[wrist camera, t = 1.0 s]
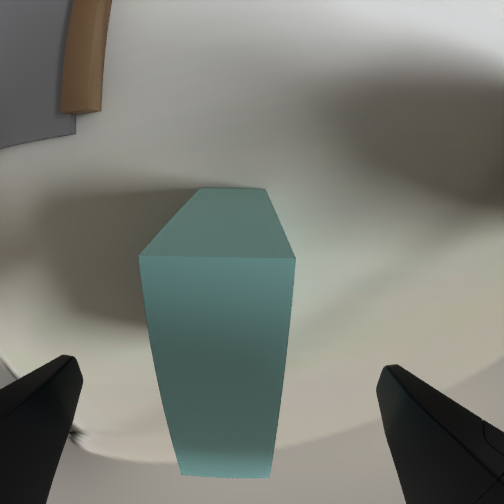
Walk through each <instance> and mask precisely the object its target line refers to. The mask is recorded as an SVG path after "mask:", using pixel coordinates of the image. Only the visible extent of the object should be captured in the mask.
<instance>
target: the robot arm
mask: <svg viewBox="0 0 504 504" xmlns="http://www.w3.org/2000/svg"><path fill="white" fill-rule="evenodd" d="M82 385H83V376H82V374H81V371H80V368H79V365H78V362H77V360H76V358H75V357H73V356H69V355H61V356H59V357H58V358H56V359H54V360H52V361H50V362H49V363H47V364H45V365H43V366H41V367H40V368H38V369H36V370H34V371H32V372H31V373H29V374H27V375H25V376H23V377H21V378H20V379H18V380H16V381H14V382H12V383H11V384H9V385H7V386H5V387H4V388H2V389H0V504H46V502H47V498H48V495H49V491H50V488H51V485H52V481H53V478H54V475H55V472H56V469H57V466H58V463H59V460H60V457H61V454H62V451H63V448H64V445H65V442H66V440H67V437H68V434H69V431H70V428H71V425H72V422H73V419H74V415H75V411H76V407H77V403H78V400H79V396H80V392H81V389H82ZM376 393H377V398H378V402H379V407H380V412H381V416H382V421H383V426H384V430H385V435H386V438H387V442H388V445H389V448H390V451H391V454H392V457H393V461H394V464H395V467H396V470H397V474H398V477H399V480H400V484H401V487H402V490H403V494H404V497H405V501H406V504H504V432H503V431H501V430H499V429H498V428H496V427H494V426H493V425H491V424H489V423H488V422H486V421H485V420H483V421H482V419H481V418H480V417H478V416H477V415H475V414H474V413H472V412H470V411H469V410H467V409H466V408H464V407H463V406H461V405H459V404H458V403H456V402H455V401H453V400H452V399H450V398H449V397H447V396H446V395H444V394H442V393H441V392H439V391H438V390H436V389H435V388H433V387H432V386H430V385H429V384H427V383H425V382H424V381H422V380H421V379H419V378H418V377H416V376H415V375H413V374H412V373H410V372H409V371H407V370H405V369H404V368H402V367H401V366H399V365H397V364H394V365H386V366H385V367H384V368H383V370H382V372H381V375H380V378H379V381H378V384H377V388H376Z"/></svg>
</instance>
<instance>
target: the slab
mask: <svg viewBox="0 0 504 504" xmlns="http://www.w3.org/2000/svg"><path fill="white" fill-rule="evenodd" d="M138 257H139V266H140V275H141V284H142V292H143V299H144V306H145V313H146V320H147V326H148V333H149V339H150V344H151V350H152V355H153V361H154V366H155V371H156V376H157V381H158V386H159V390H160V395H161V399H162V404H163V408H164V412H165V416H166V420H167V424H168V428H169V432H170V436H171V440H172V443H173V447H174V451H175V454H176V458H177V461H178V464H179V468H180V471H181V474H182V475H190V476H201V477H219V478H269V477H270V472H271V466H272V460H273V453H274V447H275V440H276V433H277V426H278V419H279V411H280V404H281V396H282V388H283V380H284V372H285V363H286V355H287V346H288V336H289V327H290V317H291V307H292V296H293V285H294V274H295V262H296V258H295V256H294V253H293V251H292V249H291V246H290V244H289V242H288V239H287V237H286V235H285V232H284V230H283V228H282V225H281V223H280V221H279V219H278V216H277V214H276V212H275V209H274V207H273V205H272V203H271V200H270V198H269V196H268V194H267V191H266V189H248V188H200V189H199V190H198V191H197V192H196V193H195V194H194V195H193V196H192V197H191V198H190V199H189V200H188V201H187V202H186V203H185V205H184V206H183V207H182V208H181V209H180V210H179V211H178V212H177V213H176V214H175V215H174V216H173V217H172V218H171V220H170V221H169V222H168V223H167V224H166V225H165V226H164V227H163V228H162V229H161V231H160V232H159V233H158V234H157V235H156V236H155V237H154V238H153V239H152V241H151V242H150V243H149V244H148V245H147V246H146V247H145V249H144V250H143V251H142V252H141V253H140V254H139V255H138Z"/></svg>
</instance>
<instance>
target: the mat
mask: <svg viewBox="0 0 504 504" xmlns="http://www.w3.org/2000/svg"><path fill="white" fill-rule="evenodd" d="M73 3H74V0H0V149H1V148H5V147H9V146H14V145H18V144H23V143H27V142H32V141H37V140H43V139H48V138H54V137H60V136H66V135H72V134H76V115H72V114H61V94H62V79H63V68H64V59H65V50H66V43H67V36H68V29H69V23H70V18H71V13H72V7H73Z"/></svg>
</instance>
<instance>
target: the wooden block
mask: <svg viewBox="0 0 504 504" xmlns="http://www.w3.org/2000/svg"><path fill="white" fill-rule="evenodd" d="M111 4H112V0H74V3H73V7H72V13H71V18H70V23H69V29H68V36H67V43H66V50H65V59H64V68H63V79H62V94H61V114H72V115H78V114H84V113H90V112H97V111H101V99H102V81H103V67H104V56H105V46H106V38H107V30H108V23H109V16H110V10H111Z"/></svg>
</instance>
